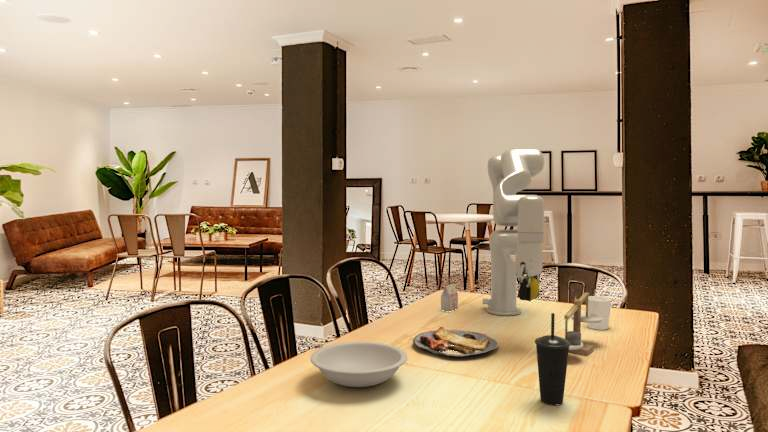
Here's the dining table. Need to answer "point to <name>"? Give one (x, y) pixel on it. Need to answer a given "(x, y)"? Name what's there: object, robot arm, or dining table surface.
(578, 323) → the balance
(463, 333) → the food plate
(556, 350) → the drinking cup
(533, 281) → the lemon
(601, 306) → the white cup
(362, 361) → the soup bowl
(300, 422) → the dining table surface
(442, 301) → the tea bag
